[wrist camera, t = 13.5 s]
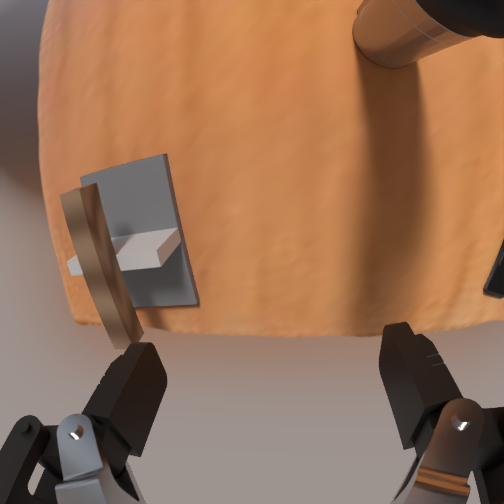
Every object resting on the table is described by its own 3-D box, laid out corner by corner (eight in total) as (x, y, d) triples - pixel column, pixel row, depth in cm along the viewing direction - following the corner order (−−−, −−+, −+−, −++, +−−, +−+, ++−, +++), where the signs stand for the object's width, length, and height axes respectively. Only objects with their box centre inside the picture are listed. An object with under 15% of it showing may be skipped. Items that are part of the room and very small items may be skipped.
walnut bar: (77, 188, 29) (59, 195, 25) (96, 182, 28) (79, 189, 25) (125, 332, 36) (115, 348, 33) (143, 333, 36) (134, 349, 33)
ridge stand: (85, 175, 38) (45, 188, 29) (166, 153, 36) (135, 160, 27) (123, 303, 46) (97, 336, 37) (199, 298, 44) (183, 337, 35)
